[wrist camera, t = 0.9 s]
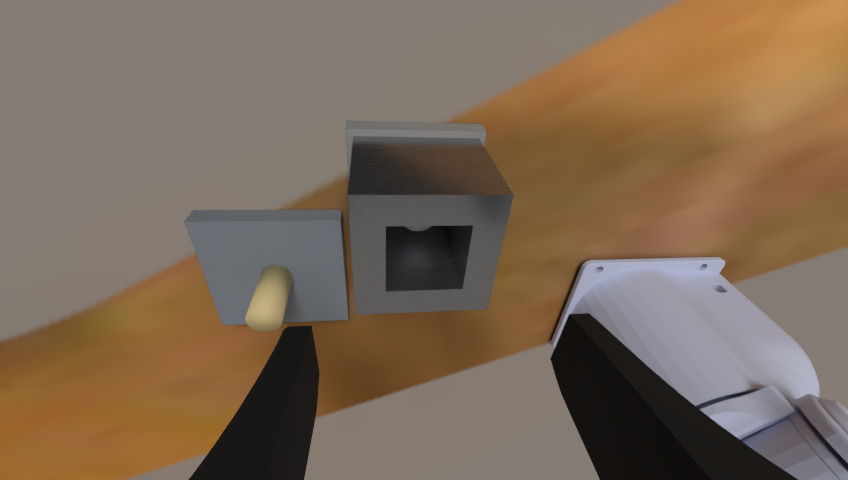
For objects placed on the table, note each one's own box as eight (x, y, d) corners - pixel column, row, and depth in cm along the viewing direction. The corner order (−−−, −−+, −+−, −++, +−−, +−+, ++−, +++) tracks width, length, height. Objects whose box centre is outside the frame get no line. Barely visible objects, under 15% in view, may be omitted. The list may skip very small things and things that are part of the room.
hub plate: (341, 209, 19) (335, 259, 16) (349, 307, 23) (345, 363, 20) (192, 210, 18) (154, 263, 15) (227, 312, 22) (203, 371, 19)
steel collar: (478, 138, 16) (513, 194, 12) (463, 238, 20) (487, 309, 16) (353, 136, 16) (347, 195, 12) (358, 240, 19) (355, 314, 15)
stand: (481, 123, 17) (499, 150, 15) (464, 232, 21) (476, 267, 18) (346, 120, 16) (342, 147, 14) (353, 233, 20) (350, 271, 17)
